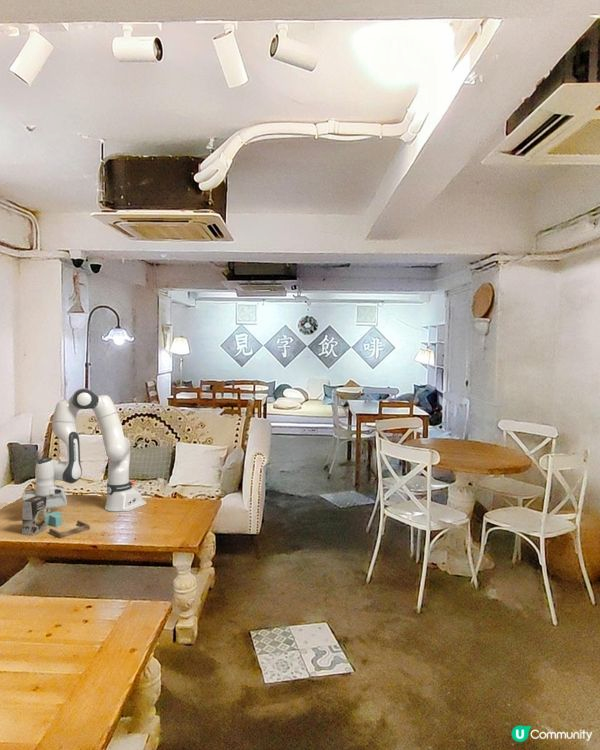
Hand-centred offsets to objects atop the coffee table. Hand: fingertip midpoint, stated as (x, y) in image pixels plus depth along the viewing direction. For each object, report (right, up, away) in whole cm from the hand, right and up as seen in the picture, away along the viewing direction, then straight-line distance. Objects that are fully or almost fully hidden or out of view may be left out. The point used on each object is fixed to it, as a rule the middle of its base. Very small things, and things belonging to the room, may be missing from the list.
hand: (45, 516), depth 258 cm
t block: (+7, -2, -5) cm, 9 cm away
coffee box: (+3, -3, -16) cm, 16 cm away
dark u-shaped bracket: (+18, -3, -14) cm, 23 cm away
